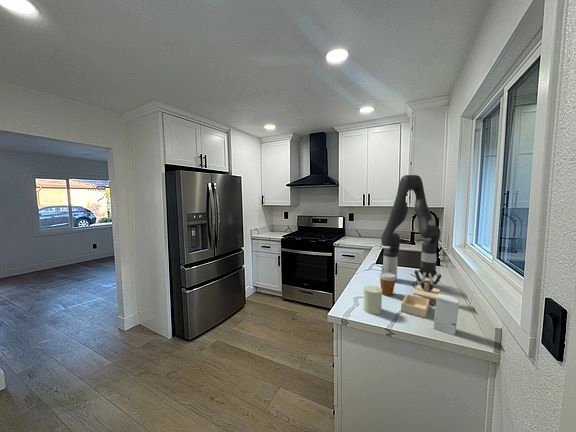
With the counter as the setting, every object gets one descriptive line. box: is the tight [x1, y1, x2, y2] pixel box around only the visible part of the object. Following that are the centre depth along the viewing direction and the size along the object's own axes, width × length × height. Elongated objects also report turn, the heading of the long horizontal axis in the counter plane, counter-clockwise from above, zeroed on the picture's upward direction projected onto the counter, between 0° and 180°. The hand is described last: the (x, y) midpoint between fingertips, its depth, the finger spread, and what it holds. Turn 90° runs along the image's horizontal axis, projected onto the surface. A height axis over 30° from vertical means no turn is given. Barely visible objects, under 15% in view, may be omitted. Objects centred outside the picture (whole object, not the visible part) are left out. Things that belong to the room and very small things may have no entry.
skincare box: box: [433, 293, 460, 336], centre depth 106 cm, size 8×6×15 cm
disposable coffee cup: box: [379, 272, 396, 297], centre depth 143 cm, size 10×10×12 cm
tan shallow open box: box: [400, 293, 430, 319], centre depth 125 cm, size 11×14×4 cm
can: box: [362, 285, 383, 315], centre depth 124 cm, size 9×9×12 cm
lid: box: [412, 279, 441, 301], centre depth 136 cm, size 11×14×7 cm
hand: (426, 289), depth 136 cm, fingers closed on lid, 3 cm apart
